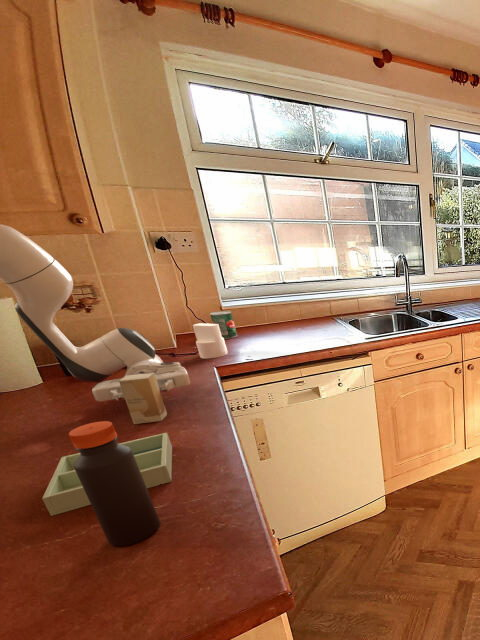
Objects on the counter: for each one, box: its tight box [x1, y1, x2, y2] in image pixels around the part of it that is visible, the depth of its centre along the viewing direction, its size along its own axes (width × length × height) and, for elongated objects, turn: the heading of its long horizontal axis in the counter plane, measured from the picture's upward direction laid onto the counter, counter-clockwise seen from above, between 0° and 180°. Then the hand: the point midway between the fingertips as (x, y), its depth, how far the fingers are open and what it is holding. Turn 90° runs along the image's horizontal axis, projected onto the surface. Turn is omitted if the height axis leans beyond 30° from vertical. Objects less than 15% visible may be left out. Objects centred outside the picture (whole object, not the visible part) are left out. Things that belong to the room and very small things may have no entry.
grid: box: [41, 432, 173, 517], centre depth 86 cm, size 17×17×4 cm
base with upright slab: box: [192, 322, 229, 360], centre depth 162 cm, size 9×9×12 cm
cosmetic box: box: [119, 373, 168, 425], centre depth 109 cm, size 6×4×12 cm
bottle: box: [68, 420, 161, 547], centre depth 68 cm, size 7×7×20 cm
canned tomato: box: [209, 310, 238, 340], centre depth 186 cm, size 8×8×11 cm
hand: (142, 393), depth 110 cm, fingers open, 8 cm apart
